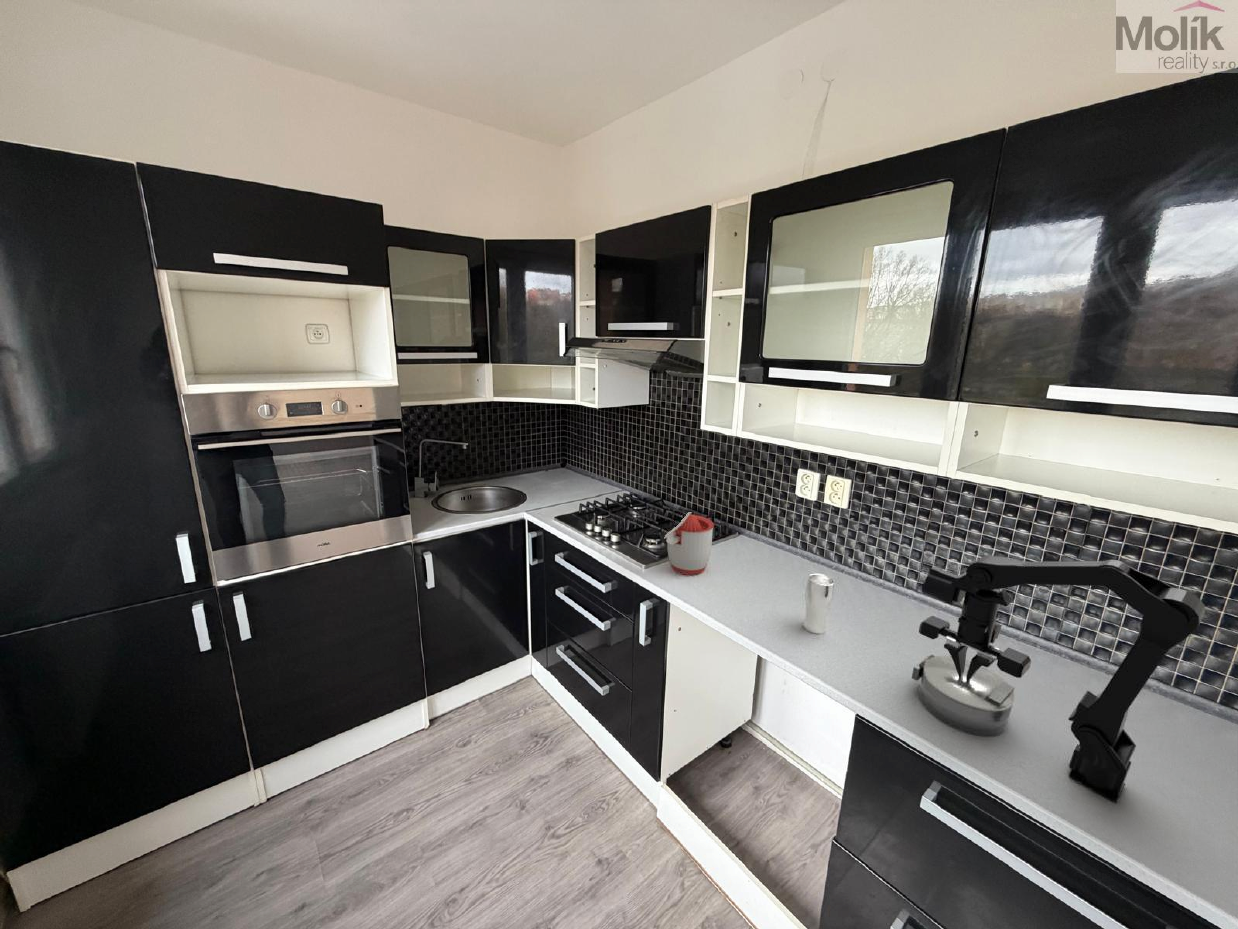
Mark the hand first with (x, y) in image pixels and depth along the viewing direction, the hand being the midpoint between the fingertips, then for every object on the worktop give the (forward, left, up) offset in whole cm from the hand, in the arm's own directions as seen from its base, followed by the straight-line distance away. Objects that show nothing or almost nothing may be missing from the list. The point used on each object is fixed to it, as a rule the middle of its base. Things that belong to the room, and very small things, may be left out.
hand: (964, 678), depth 104 cm
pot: (-1, 0, -7) cm, 7 cm away
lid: (0, 0, -1) cm, 1 cm away
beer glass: (+35, 0, -7) cm, 36 cm away
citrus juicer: (+81, +6, -7) cm, 82 cm away
